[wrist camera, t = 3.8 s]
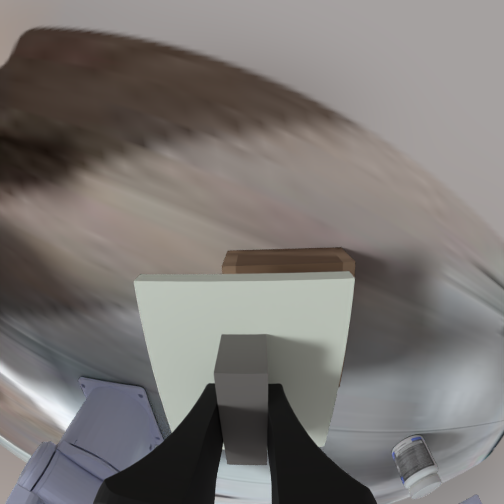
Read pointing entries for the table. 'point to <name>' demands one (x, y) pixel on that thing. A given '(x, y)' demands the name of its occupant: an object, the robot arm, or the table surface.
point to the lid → (247, 348)
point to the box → (288, 262)
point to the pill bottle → (416, 466)
